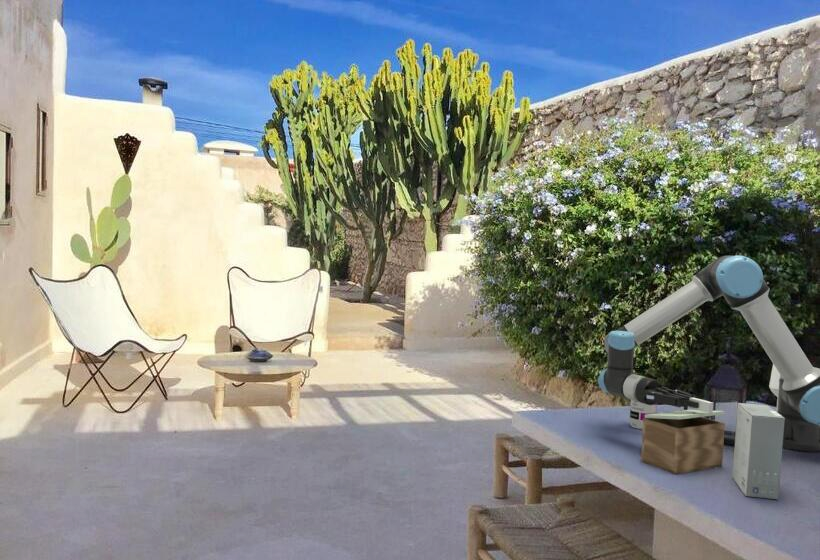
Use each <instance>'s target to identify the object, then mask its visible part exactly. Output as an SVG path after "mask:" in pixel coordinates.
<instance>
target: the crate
mask: <svg viewBox="0 0 820 560" xmlns="http://www.w3.org/2000/svg"><path fill="white" fill-rule="evenodd" d="M725 426H726V424H725V422H722V421H719V420H715V419H712V418H711V419H710V418H707V417H705V416H704V417H696V418H688V419H661V418H643V430H642V436H641V439H642V440H641V452H640V454H641V455H640V462H641V463H643V462H644V464H646V465H648V466H651V465H652V467H654V468H657V469H659V468H660V469H659V470H663V471H665V472H668V473H670V474H672V475H675V476H676V475H680V474H681V475H682V474H687V472H688V473H692V471H694V472H699V471H698V470H700V471H705V469H706V470H711V469H710V468H712V469H716V468H715V467H717V468H722V466H723V457H724V456H723V454H724V443H725V442H724V441H725V440H724V439H725Z"/></svg>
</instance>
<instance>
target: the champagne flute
mask: <svg viewBox="0 0 820 560" xmlns="http://www.w3.org/2000/svg"><path fill="white" fill-rule="evenodd" d="M779 379H780V373H779V372H778V370H777V369H776V367H775V366H774V364H773V363H772V368H771V373H770V379H769V385H768V387H769V389H770V391H771V393H772V394H773V395H774V396H776V397H777V399H776V410H775V411H776V412H777V409H778V394H779Z"/></svg>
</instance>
